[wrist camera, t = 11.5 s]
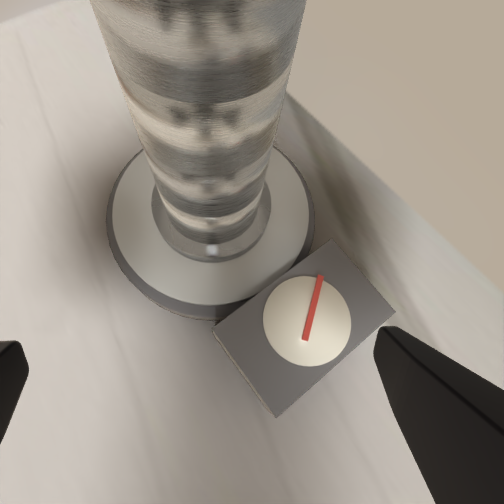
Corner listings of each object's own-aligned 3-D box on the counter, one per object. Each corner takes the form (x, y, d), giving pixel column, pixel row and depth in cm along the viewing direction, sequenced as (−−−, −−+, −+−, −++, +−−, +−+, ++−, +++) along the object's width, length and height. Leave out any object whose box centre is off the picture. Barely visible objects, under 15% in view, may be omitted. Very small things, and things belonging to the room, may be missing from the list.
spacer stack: (163, 273, 18) (-14, -11, 4) (147, 168, 19) (-9, -252, 6) (281, 251, 18) (429, -38, 5) (255, 153, 20) (316, -239, 7)
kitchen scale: (237, 435, 18) (241, 451, 14) (80, 204, 21) (53, 174, 18) (392, 300, 21) (424, 287, 18) (233, 118, 24) (235, 79, 21)
